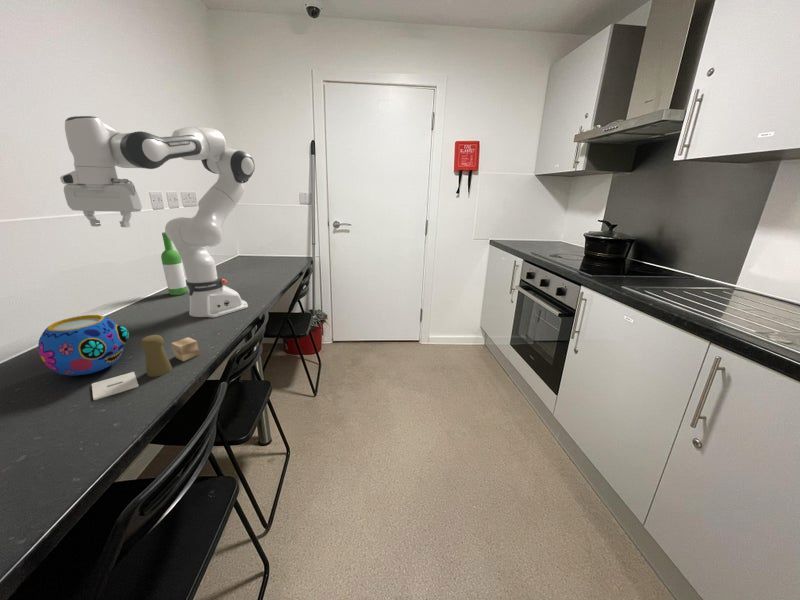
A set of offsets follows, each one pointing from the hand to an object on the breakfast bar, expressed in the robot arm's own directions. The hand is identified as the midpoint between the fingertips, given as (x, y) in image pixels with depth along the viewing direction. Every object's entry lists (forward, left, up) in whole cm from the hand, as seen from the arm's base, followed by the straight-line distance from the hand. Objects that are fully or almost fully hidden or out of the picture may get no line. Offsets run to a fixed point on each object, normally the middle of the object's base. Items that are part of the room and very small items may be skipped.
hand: (110, 226), depth 99 cm
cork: (-1, +26, -39) cm, 47 cm away
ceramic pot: (+13, +12, -39) cm, 43 cm away
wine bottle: (-21, -53, -39) cm, 69 cm away
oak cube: (-9, +21, -39) cm, 45 cm away
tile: (+9, +27, -39) cm, 48 cm away
